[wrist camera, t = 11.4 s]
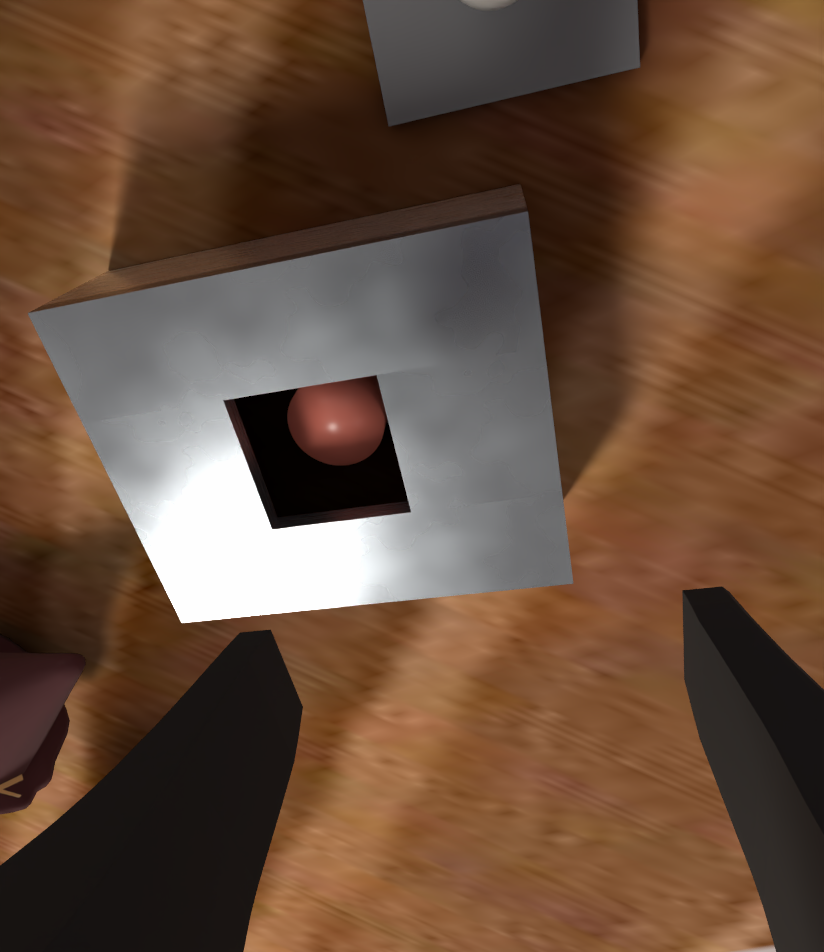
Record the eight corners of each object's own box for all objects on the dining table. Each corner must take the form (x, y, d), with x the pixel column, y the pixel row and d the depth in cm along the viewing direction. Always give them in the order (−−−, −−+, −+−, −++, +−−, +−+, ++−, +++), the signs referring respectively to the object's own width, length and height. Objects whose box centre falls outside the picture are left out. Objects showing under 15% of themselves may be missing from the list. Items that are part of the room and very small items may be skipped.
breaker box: (520, 184, 18) (528, 211, 14) (560, 505, 22) (572, 583, 19) (107, 271, 20) (27, 313, 16) (224, 546, 25) (181, 622, 21)
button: (379, 349, 20) (371, 369, 19) (399, 433, 21) (393, 458, 20) (288, 364, 20) (274, 385, 19) (314, 446, 22) (303, 471, 20)
